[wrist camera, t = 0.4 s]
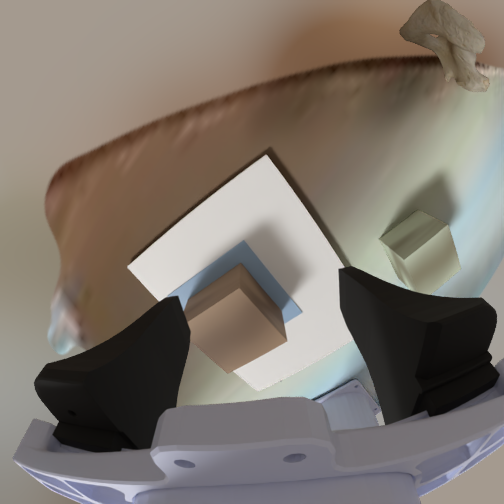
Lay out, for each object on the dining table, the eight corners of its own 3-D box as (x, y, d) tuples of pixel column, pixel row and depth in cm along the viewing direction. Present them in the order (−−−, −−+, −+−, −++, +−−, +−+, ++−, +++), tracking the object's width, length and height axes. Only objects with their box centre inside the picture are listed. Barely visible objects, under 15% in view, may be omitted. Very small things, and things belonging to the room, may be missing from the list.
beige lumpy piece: (491, 66, 14) (541, 81, 7) (452, 98, 18) (489, 125, 12) (430, -4, 12) (459, -26, 5) (391, 31, 17) (403, 20, 10)
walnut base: (281, 310, 23) (287, 341, 19) (230, 341, 24) (227, 373, 20) (240, 262, 21) (239, 287, 18) (187, 299, 22) (177, 328, 19)
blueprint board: (375, 319, 24) (378, 323, 24) (257, 387, 27) (258, 392, 27) (265, 154, 19) (266, 154, 18) (129, 264, 22) (127, 267, 21)
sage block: (433, 248, 22) (461, 268, 18) (397, 277, 23) (421, 301, 19) (417, 209, 21) (447, 224, 17) (378, 238, 22) (403, 259, 17)
